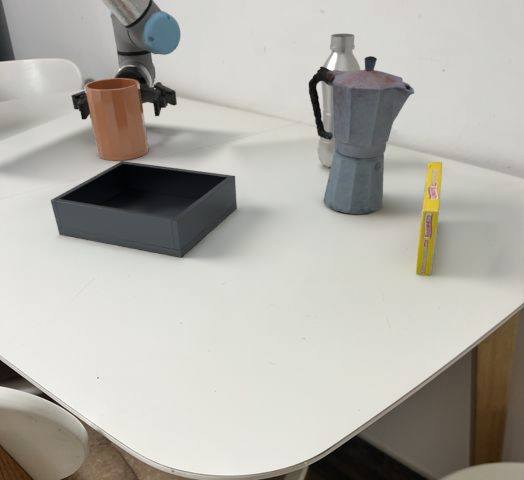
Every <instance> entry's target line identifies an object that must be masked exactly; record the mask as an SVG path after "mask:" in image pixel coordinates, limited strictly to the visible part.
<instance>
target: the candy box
mask: <svg viewBox="0 0 524 480" xmlns="http://www.w3.org/2000/svg"><path fill="white" fill-rule="evenodd" d="M442 172H443V162H442V161H429V162H428V163H427V169H426V176H425V182H424V183H425V185H424V189H423V198H422V204H421V205H422V206H421V213H420V214H421V215H420V223H419V235H418V245H417V256H416V267H415V274H416V275H423V276H431V275H432V271H433V264H434V258H435V257H434V256H435V250H436V243H437V235H438V234H437V233H438V224H439V214H440V205H441V191H442V190H441V188H442V175H443V174H442Z"/></svg>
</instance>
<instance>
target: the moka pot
mask: <svg viewBox="0 0 524 480" xmlns="http://www.w3.org/2000/svg"><path fill="white" fill-rule="evenodd" d="M377 61H378V58H377V57H375V56H372V55H369V56H366V57H364V69H360V70H359V71H353V72H347V73H343V72H342V71H338V70H329V69H327V68H325V67H323V65H322V66H320V67H319V69H317V70H316V73H314V75H313V76H312V78H311V79H310V80H309V81H308V95H309V98H310V103H311V106H312V111H313V116H314V119H315V120H314V123H315V126H316V132H317V136H318V137H319V138H320V137H322V138H325V139H328V140H331V139H332V137H333V134H332V133H331V132H326V131H325V130H324V125H323V122H322V119H323V115H322V109H321V105H320V100H319V99H320V97H319V93H318V89H317V85H318V84H319V83H321V81H323V82H325V83H326V84H327V85H329V86H333V113H334V138H335V152H334V155H333V160H332V164H331V167H330V169H329V173H328V177H327V183H326V186H325V191H324V194H323V195H324V196H323V202H324V204H325V205H326V206H327V207H329V208H330V209H332V210H334V211H337V212H341V213H344V214H350V215H365V214H367V215H368V214H370V213H374V212H376V211H378V210H380V209H381V208H382V206H383V198H384V171H385V170H384V166H385V154H384V153H385V152H386V150H387V144H388V142H389V138H390V136H391V133H392V132H391V131H392V128H393V124H394V122H395V120H396V119H397V118H398V116H399V114H400V112H401V111H402V109H403V107H404V105H405V103H406V102H407V101H408V98H410V96H412V95H414V94H415V89H414V87H412V86H411V85H410V83H408V82H405V81H403V78H402V77H401V76H397V75H395V74H391V73H388V72H385V71H382V70H375V67H376V64H377Z"/></svg>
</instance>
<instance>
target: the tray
mask: <svg viewBox="0 0 524 480" xmlns="http://www.w3.org/2000/svg"><path fill="white" fill-rule="evenodd" d="M236 185H237V184H236V175H231V174H225V173H224V174H223V173H217V172H208V171H201V170H194V169H193V170H192V169H185V168H178V167H171V166H170V167H169V166H164V165H163V166H162V165H156V164H155V165H154V164H146V163H139V162H132V161H125V160H121V161H119V162H117V163H116V164H114V165H112V166H110V167H109V168H107V169H105V170H103V171H101V172H99V173H97V174H95V175H94V176H92V177H90V178H89V179H86V180H85V181H83V182H81V183H79V184H78V185H75V186H73V187H72V188H70V189H68V190H66V191H65V192H63V193H61V194H59V195H57V196H56V197H54V198H51V199H50V205H51V207H52V212H53V215H54V218H55V222H56V226H57V230H58V234H59V235H60V236H61V235H62V236H67V237H73V238H77V239H82V240H88V241H93V242H97V243H104V244H109V245H112V246H113V245H114V246H118V247H125V248H130V249H134V250H140V251H144V252H145V251H146V252H151V253H154V254H155V253H156V254H161V255H167V256H172V257H176V258H182V257H183V256H185V255H186V254H187V253H188V252H189V251H191V249H192V248H194V247H195V246H196V245H197V244H198V243H200V242H201V241H202V240H203V239H204V238H205V237H206V236H207V235H208V234H210V233H211V232H212V231H213V230H214V229H215V228H217V227H218V226H219V225H220V224H221V223H222V222H223V221H225V220H226V218H228V217H229V216H230V215H232V214H233V212H236V210H237V209H238V207H237V205H238V204H237V186H236Z"/></svg>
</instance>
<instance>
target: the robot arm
mask: <svg viewBox="0 0 524 480" xmlns="http://www.w3.org/2000/svg"><path fill="white" fill-rule="evenodd" d="M101 2H102V3H103V4H104V5H105V6H106V7H107V8H108V10H109V11H110V19H111V24H112V29H113V36H114V42H115V48H116V54H117V61H118V67H119V70H118V71H117V72H116V74H115V76H114V77H113V78H127V79H134V80H137V81H138V82H139V85H140V92H141V99H142V105H143V104H146V103H150V104H152V105H153V111H154V117H160V114H161V112H162V109H165V108H167V106H169V105H170V106H176V105H177V104H178V101H177V100H178V99H177V94H176V93H177V92H176V90H174V89H172V88H170V87H168V86H166V85H163V83H162V82H160V81H158V82H156V83H155V80H156V68H155V64H154V63H153V56H152V54H153V55H160V56H161V55H162V56H166V55H170V54H171V53H174V51H175V50H176V49H177V48H178V46H179V44H180V42H181V28H180V25H179V23H178V21H177V20H176V18H175V17H174V16H173V15H171V14H170V13H168V12H166V11H164V10H162V9H161V8H160V7H159V5H158V4H157V3H156V2H155V1H154V0H101ZM70 96H71V101H72V105H73V109H74V110H78V111H79V113H80V116H81V120H87V119H88V117H90V113H89V108H88V103H87V98H86V93H85V90H83V91H80V92H77V93H73V94H71V95H70ZM168 104H169V105H168Z"/></svg>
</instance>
